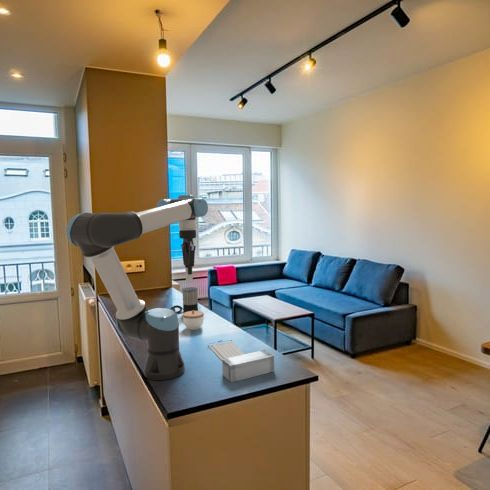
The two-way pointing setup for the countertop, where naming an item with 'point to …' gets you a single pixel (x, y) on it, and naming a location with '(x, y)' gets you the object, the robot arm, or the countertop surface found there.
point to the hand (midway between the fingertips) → (189, 281)
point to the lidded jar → (193, 319)
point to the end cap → (247, 365)
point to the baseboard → (226, 350)
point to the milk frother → (188, 300)
